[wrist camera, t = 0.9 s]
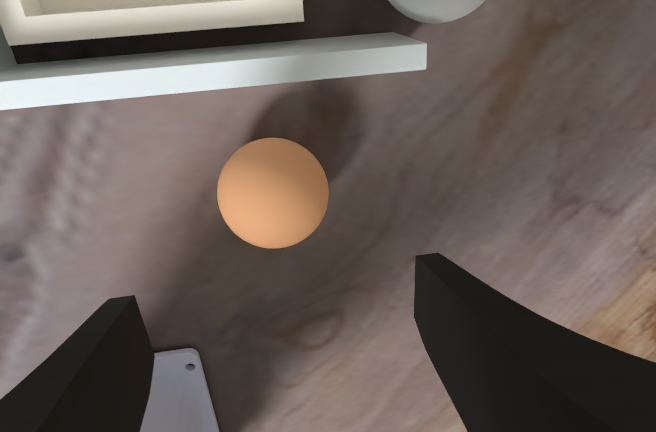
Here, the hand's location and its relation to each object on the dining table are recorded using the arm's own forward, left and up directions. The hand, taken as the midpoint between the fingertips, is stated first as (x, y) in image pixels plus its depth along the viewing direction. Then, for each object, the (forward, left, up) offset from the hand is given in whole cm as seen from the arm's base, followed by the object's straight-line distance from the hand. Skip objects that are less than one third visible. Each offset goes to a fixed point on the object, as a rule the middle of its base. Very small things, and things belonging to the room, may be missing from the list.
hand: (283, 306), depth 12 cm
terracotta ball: (0, 0, -9) cm, 9 cm away
